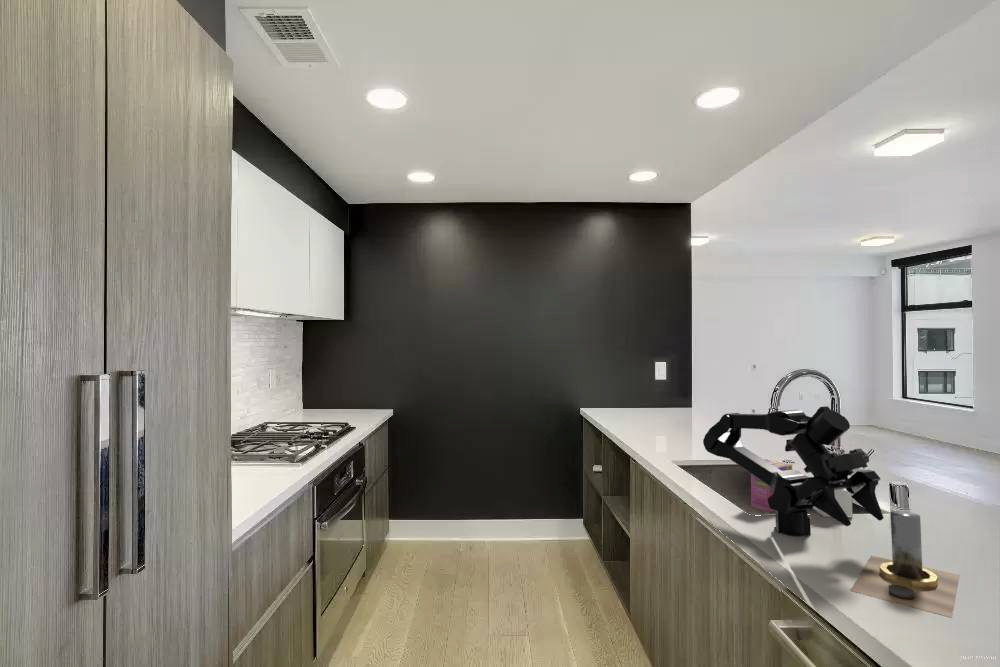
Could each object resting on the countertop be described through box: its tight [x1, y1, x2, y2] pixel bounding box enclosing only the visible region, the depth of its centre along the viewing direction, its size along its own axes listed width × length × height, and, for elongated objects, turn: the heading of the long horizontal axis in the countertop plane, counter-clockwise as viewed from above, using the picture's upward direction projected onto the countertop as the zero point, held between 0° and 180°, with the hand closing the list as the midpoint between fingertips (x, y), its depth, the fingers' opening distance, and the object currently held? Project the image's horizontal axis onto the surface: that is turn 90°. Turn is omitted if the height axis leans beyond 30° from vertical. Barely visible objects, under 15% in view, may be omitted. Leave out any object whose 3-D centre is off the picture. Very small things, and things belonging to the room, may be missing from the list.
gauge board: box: [849, 555, 960, 619], centre depth 98 cm, size 21×14×2 cm, turn 136°
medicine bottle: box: [812, 488, 854, 518], centre depth 139 cm, size 7×7×12 cm
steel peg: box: [889, 510, 923, 580], centre depth 100 cm, size 4×4×12 cm
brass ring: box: [879, 562, 938, 589], centre depth 99 cm, size 8×8×1 cm
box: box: [750, 460, 793, 513], centre depth 145 cm, size 10×6×12 cm, turn 117°
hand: (865, 522), depth 107 cm, fingers open, 9 cm apart
